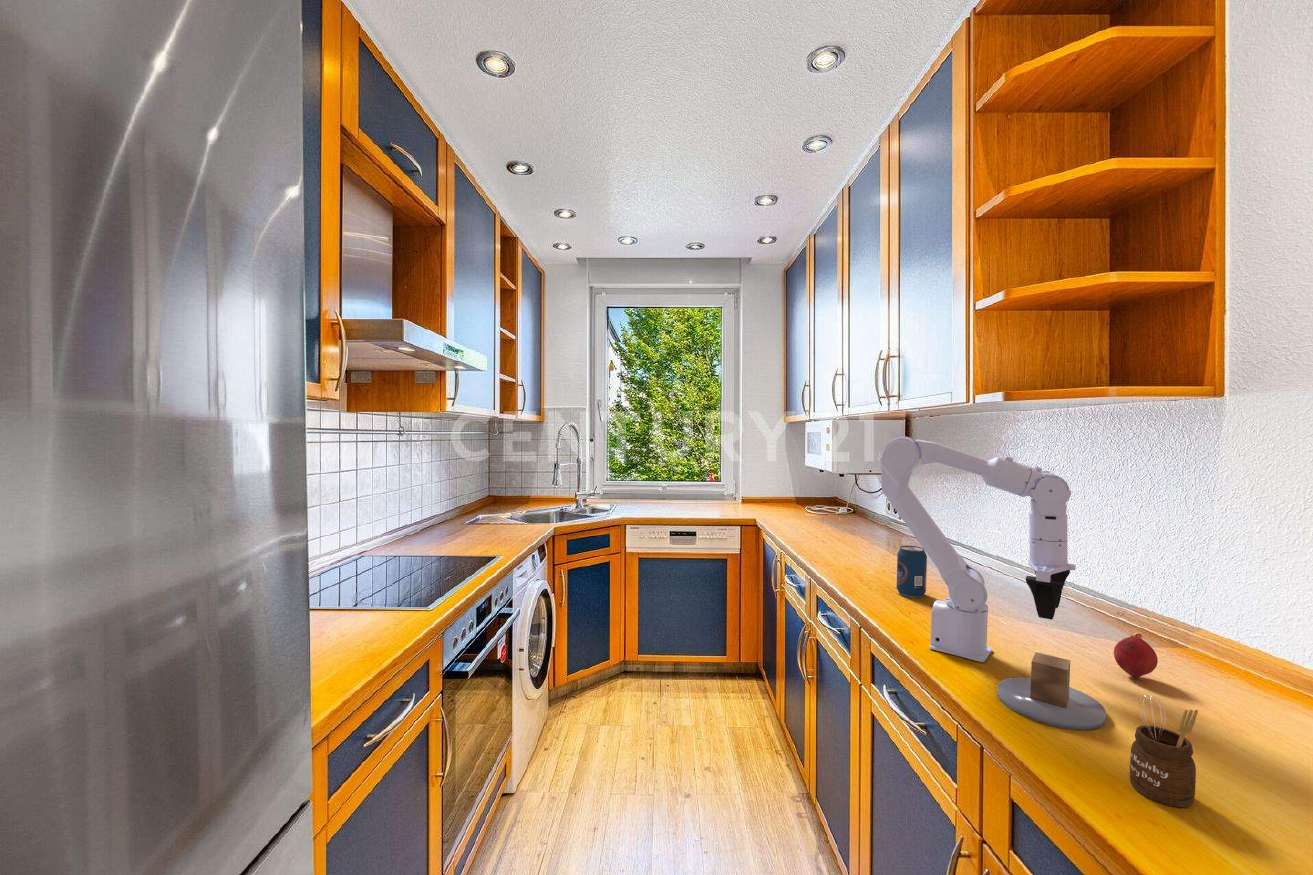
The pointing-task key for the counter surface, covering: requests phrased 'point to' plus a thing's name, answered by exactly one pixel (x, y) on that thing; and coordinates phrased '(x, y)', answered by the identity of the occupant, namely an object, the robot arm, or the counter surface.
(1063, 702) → the walnut stool block
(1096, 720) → the plate
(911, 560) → the soda can
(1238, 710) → the counter surface
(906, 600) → the counter surface
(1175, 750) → the utensil holder
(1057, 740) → the counter surface
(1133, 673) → the onion
